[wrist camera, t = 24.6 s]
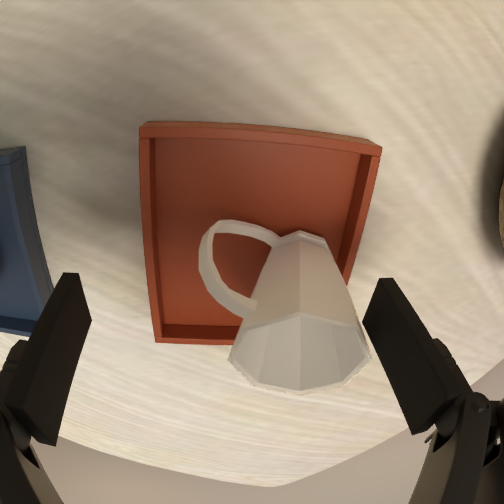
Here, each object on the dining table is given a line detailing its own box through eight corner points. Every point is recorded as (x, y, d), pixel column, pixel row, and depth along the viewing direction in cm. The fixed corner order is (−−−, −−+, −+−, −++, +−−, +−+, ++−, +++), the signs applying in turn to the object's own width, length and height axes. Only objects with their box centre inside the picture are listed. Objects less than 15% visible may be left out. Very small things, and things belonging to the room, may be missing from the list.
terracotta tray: (147, 121, 17) (138, 127, 15) (368, 139, 18) (383, 147, 16) (158, 323, 24) (155, 342, 22) (321, 325, 26) (328, 343, 24)
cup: (300, 311, 24) (299, 407, 17) (189, 235, 21) (146, 330, 14) (374, 256, 20) (400, 357, 14) (257, 156, 17) (234, 239, 11)
